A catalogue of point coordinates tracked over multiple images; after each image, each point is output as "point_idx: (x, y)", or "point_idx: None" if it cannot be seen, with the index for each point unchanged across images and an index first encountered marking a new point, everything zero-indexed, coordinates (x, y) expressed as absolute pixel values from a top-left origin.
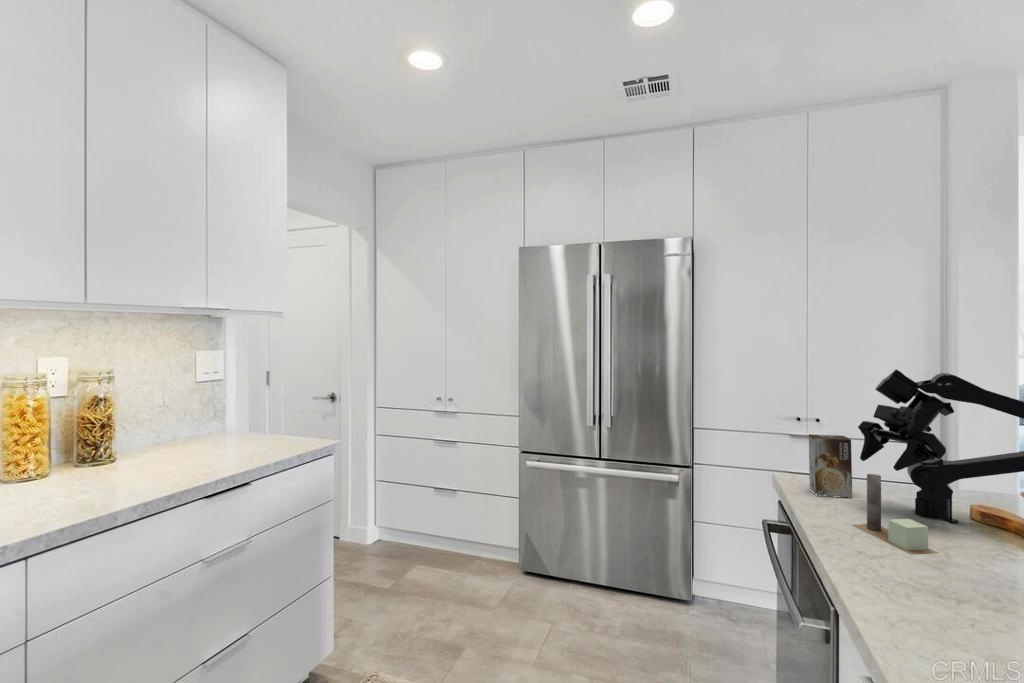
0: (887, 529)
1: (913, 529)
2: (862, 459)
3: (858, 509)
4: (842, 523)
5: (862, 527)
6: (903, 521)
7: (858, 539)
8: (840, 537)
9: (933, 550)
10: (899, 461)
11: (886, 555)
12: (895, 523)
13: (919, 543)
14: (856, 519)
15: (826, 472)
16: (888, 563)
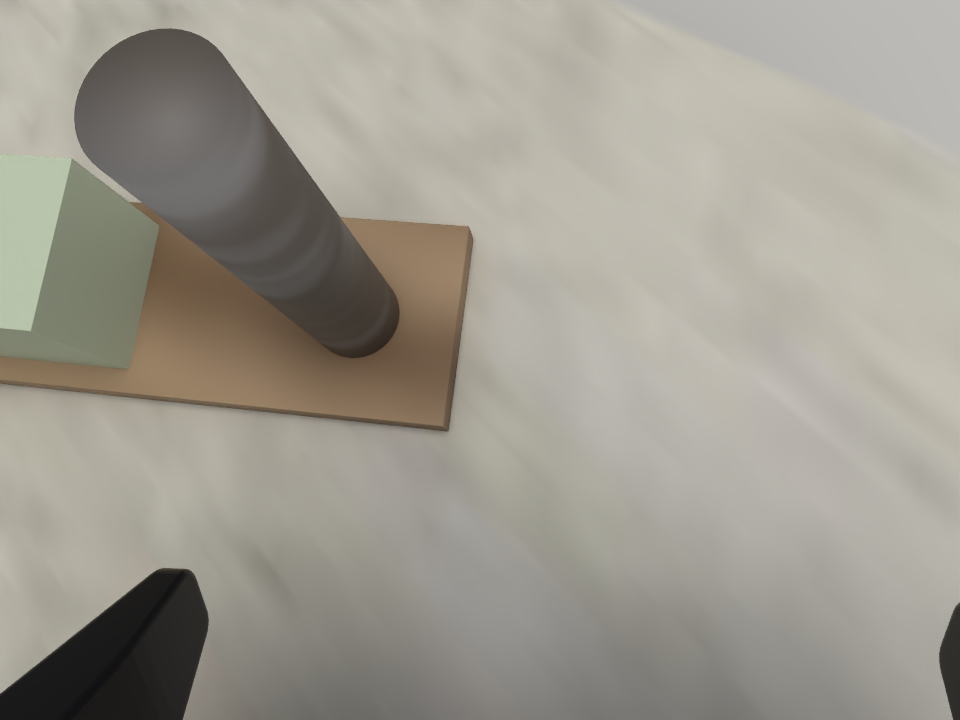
0: (326, 407)
1: None
2: (953, 634)
3: (887, 687)
4: (589, 266)
5: (404, 262)
6: (6, 236)
7: (312, 147)
8: (369, 64)
9: None
10: (53, 667)
11: None
12: (11, 157)
13: None
14: (647, 443)
15: None
16: (10, 50)
